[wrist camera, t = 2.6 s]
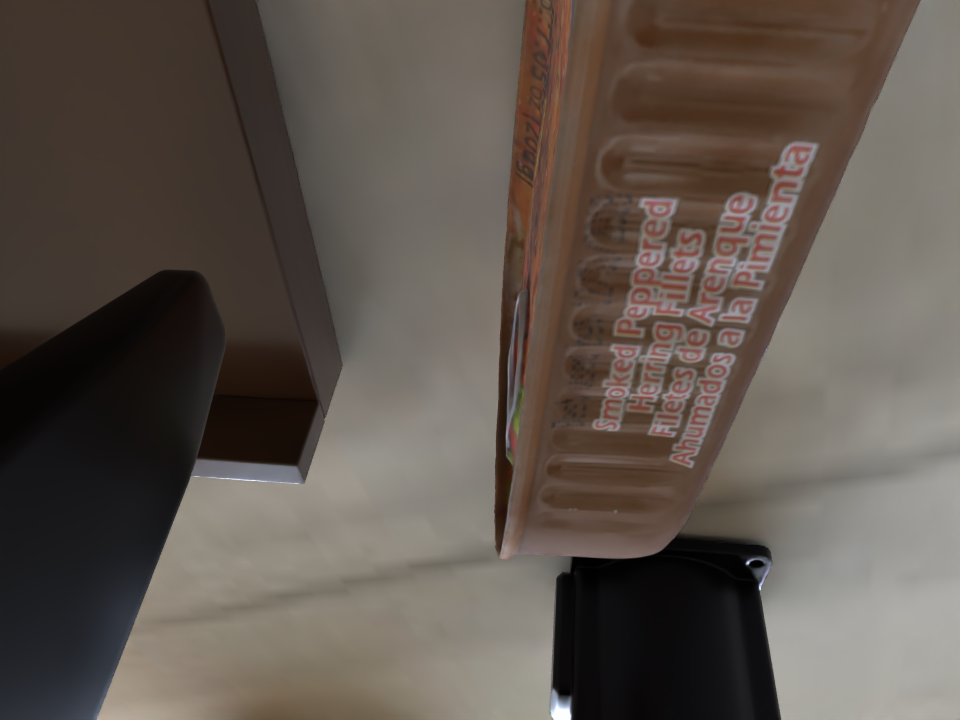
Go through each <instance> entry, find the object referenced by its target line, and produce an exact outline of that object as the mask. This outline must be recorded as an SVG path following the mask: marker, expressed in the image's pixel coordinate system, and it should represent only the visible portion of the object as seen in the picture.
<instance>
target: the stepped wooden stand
mask: <svg viewBox="0 0 960 720" xmlns="http://www.w3.org/2000/svg"><path fill="white" fill-rule="evenodd" d="M169 269H170V270H192V271H197V272H200V273H201V274H203V275H204V277H205V278H206V279H207V281H208V283H209V286H210V289H211V291H212V294H213V297H214V299H215V302H216V305H217V307H218V310H219V312H220V315H221V318H222V320H223V323H224V326H225V331H226V347H225V352H224V355H223V359H222V363H221V367H220V371H219V375H218V379H217V383H216V387H215V390H214V394H213V398H212V402H211V406H210V410H209V414H208V418H207V421H206V425H205V429H204V433H203V437H202V441H201V445H200V448H199V452H198V455H197V459H196V462H195V466H194V468H193V471H192V474H191V476H196V477H210V478H224V479H238V480H251V481H265V482H279V483H293V484H304V483H305V480H306V477H307V474H308V471H309V468H310V465H311V462H312V459H313V456H314V453H315V450H316V447H317V444H318V441H319V437H320V434H321V431H322V428H323V425H324V422H325V420H324V419H325V418H326V415H327V412H328V409H329V406H330V403H331V400H332V396H333V393H334V390H335V387H336V384H337V381H338V378H339V375H340V372H341V369H342V361H341V357H340V353H339V349H338V344H337V340H336V336H335V332H334V328H333V323H332V319H331V315H330V311H329V307H328V302H327V298H326V294H325V290H324V286H323V281H322V277H321V273H320V269H319V264H318V260H317V256H316V252H315V248H314V243H313V239H312V235H311V231H310V227H309V222H308V218H307V214H306V210H305V206H304V201H303V197H302V193H301V189H300V185H299V180H298V176H297V172H296V168H295V164H294V159H293V155H292V151H291V147H290V142H289V138H288V134H287V130H286V126H285V121H284V117H283V113H282V109H281V105H280V100H279V96H278V92H277V88H276V84H275V79H274V75H273V71H272V67H271V63H270V58H269V54H268V50H267V46H266V42H265V37H264V33H263V29H262V25H261V20H260V16H259V12H258V8H257V4H256V0H0V370H1V369H3V368H5V367H6V366H8V365H9V364H11V363H13V362H14V361H16V360H17V359H19V358H21V357H22V356H24V355H25V354H27V353H29V352H30V351H32V350H33V349H35V348H37V347H38V346H40V345H42V344H43V343H45V342H46V341H48V340H50V339H51V338H53V337H54V336H56V335H58V334H59V333H61V332H62V331H64V330H66V329H67V328H69V327H71V326H72V325H74V324H75V323H77V322H79V321H80V320H82V319H83V318H85V317H87V316H88V315H90V314H91V313H93V312H95V311H96V310H98V309H100V308H101V307H103V306H104V305H106V304H108V303H109V302H111V301H112V300H114V299H116V298H117V297H119V296H120V295H122V294H124V293H125V292H127V291H128V290H130V289H132V288H133V287H135V286H137V285H138V284H140V283H141V282H143V281H145V280H146V279H148V278H149V277H151V276H153V275H154V274H156V273H158V272H159V271H162V270H169Z"/></svg>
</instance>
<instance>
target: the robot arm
mask: <svg viewBox="0 0 960 720" xmlns="http://www.w3.org/2000/svg"><path fill="white" fill-rule="evenodd" d="M225 347H226V331H225V326H224V323H223V320H222V318H221V315H220V312H219V310H218V307H217V305H216V302H215V299H214V297H213V294H212V291H211V289H210V286H209V283H208V281H207V279H206V278H205V277H204V275H203V274H201V273H200V272H197V271H192V270H170V269H169V270H162V271H159V272H158V273H156V274H154V275H153V276H151V277H149V278H148V279H146V280H145V281H143V282H141V283H140V284H138V285H137V286H135V287H133V288H132V289H130V290H128V291H127V292H125V293H124V294H122V295H120V296H119V297H117V298H116V299H114V300H112V301H111V302H109V303H108V304H106V305H104V306H103V307H101V308H100V309H98V310H96V311H95V312H93V313H91V314H90V315H88V316H87V317H85V318H83V319H82V320H80V321H79V322H77V323H75V324H74V325H72V326H71V327H69V328H67V329H66V330H64V331H62V332H61V333H59V334H58V335H56V336H54V337H53V338H51V339H50V340H48V341H46V342H45V343H43V344H42V345H40V346H38V347H37V348H35V349H33V350H32V351H30V352H29V353H27V354H25V355H24V356H22V357H21V358H19V359H17V360H16V361H14V362H13V363H11V364H9V365H8V366H6V367H5V368H3V369H1V370H0V720H97V717H98V715H99V712H100V709H101V707H102V704H103V702H104V699H105V697H106V694H107V691H108V689H109V686H110V684H111V681H112V679H113V676H114V673H115V671H116V668H117V666H118V663H119V660H120V658H121V655H122V653H123V650H124V648H125V645H126V642H127V640H128V637H129V635H130V632H131V630H132V627H133V624H134V622H135V619H136V617H137V614H138V612H139V609H140V606H141V604H142V601H143V599H144V596H145V593H146V591H147V588H148V586H149V583H150V581H151V578H152V575H153V573H154V570H155V568H156V565H157V563H158V560H159V557H160V555H161V552H162V550H163V547H164V545H165V542H166V539H167V537H168V534H169V532H170V529H171V526H172V524H173V521H174V519H175V516H176V514H177V511H178V508H179V506H180V503H181V501H182V498H183V496H184V493H185V490H186V488H187V485H188V482H189V480H190V477H191V474H192V471H193V468H194V466H195V462H196V459H197V455H198V452H199V448H200V445H201V441H202V437H203V433H204V429H205V425H206V421H207V418H208V414H209V410H210V406H211V402H212V398H213V394H214V390H215V387H216V383H217V379H218V375H219V371H220V367H221V363H222V359H223V355H224V352H225ZM771 567H772V557H771V551H770V550H769V549H768V548H766V547H764V546H760V545H749V544H736V543H723V542H710V541H697V540H683V539H673V540H672V541H671V542H670V543H669V544H668V545H667V546H666V547H665V548H664V549H663V550H661V551H659V552H657V553H655V554H653V555H649V556H644V557H640V558H626V559H617V558H591V557H575V556H571V564H570V573H568V572H562V573H561V574H560V575H559V576H558V577H557V580H556V592H555V605H554V626H553V650H552V674H551V698H550V714H551V716H552V717H553V718H554V719H555V720H781V716H780V710H779V704H778V698H777V692H776V686H775V680H774V674H773V668H772V662H771V656H770V650H769V644H768V638H767V632H766V626H765V620H764V613H763V607H762V601H761V595H760V589H761V587H762V585H763V583H764V581H765V579H766V577H767V575H768V573H769V571H770V569H771Z"/></svg>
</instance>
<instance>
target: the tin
mask: <svg viewBox="0 0 960 720" xmlns="http://www.w3.org/2000/svg"><path fill="white" fill-rule="evenodd" d="M920 1H921V0H526V5H525V18H524V28H523V37H522V49H521V62H520V72H519V82H518V93H517V104H516V115H515V125H514V137H513V149H512V162H511V175H510V186H509V198H508V216H507V234H506V243H505V255H504V271H503V288H502V306H501V329H500V358H499V399H498V415H497V430H496V462H495V463H496V464H495V490H496V491H495V510H494V513H495V520H494V522H495V543H496V545H495V548H496V551H497V555H498V557H499V558H501V559H509V558H511V557H513V556H515V555H517V554H539V555H557V556H575V557H591V558H617V559H626V558H640V557H644V556H649V555H653V554H655V553H657V552H659V551H661V550H663V549H664V548H665V547H666V546H667V545H668V544H669V543H670V542H671V541H672V540H673V539H674V537H675V536H676V535H677V534H678V533H679V532H680V530H681V529H682V528H683V526H684V524H685V523H686V521H687V520H688V518H689V516H690V514H691V512H692V509H693V507H694V505H695V503H696V501H697V498H698V496H699V494H700V493H701V491H702V489H703V487H704V484H705V482H706V480H707V478H708V475H709V473H710V470H711V468H712V466H713V464H714V462H715V460H716V458H717V456H718V454H719V452H720V450H721V448H722V446H723V443H724V441H725V439H726V436H727V434H728V432H729V430H730V427H731V425H732V423H733V421H734V419H735V416H736V414H737V412H738V410H739V408H740V405H741V403H742V400H743V398H744V395H745V393H746V391H747V389H748V387H749V385H750V383H751V381H752V379H753V377H754V375H755V373H756V371H757V368H758V366H759V363H760V361H761V359H762V357H763V355H764V353H765V351H766V349H767V347H768V345H769V343H770V340H771V338H772V335H773V333H774V330H775V328H776V325H777V323H778V320H779V318H780V316H781V314H782V312H783V310H784V308H785V306H786V304H787V302H788V300H789V298H790V295H791V293H792V291H793V288H794V286H795V284H796V282H797V279H798V277H799V275H800V272H801V270H802V268H803V265H804V263H805V261H806V258H807V256H808V254H809V251H810V249H811V247H812V244H813V242H814V240H815V237H816V235H817V233H818V230H819V228H820V226H821V224H822V222H823V220H824V217H825V215H826V213H827V211H828V209H829V207H830V204H831V202H832V200H833V198H834V196H835V194H836V191H837V189H838V186H839V184H840V181H841V179H842V177H843V174H844V172H845V169H846V167H847V165H848V162H849V160H850V158H851V156H852V154H853V152H854V150H855V148H856V146H857V143H858V141H859V139H860V137H861V135H862V133H863V130H864V128H865V125H866V122H867V119H868V116H869V114H870V111H871V108H872V107H873V105H874V103H875V102H876V100H877V99H878V96H879V94H880V92H881V89H882V87H883V85H884V82H885V80H886V77H887V75H888V73H889V70H890V68H891V66H892V63H893V61H894V59H895V56H896V54H897V52H898V50H899V47H900V45H901V43H902V40H903V38H904V36H905V34H906V32H907V29H908V27H909V25H910V23H911V21H912V18H913V16H914V14H915V12H916V9H917V7H918V5H919V3H920Z"/></svg>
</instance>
